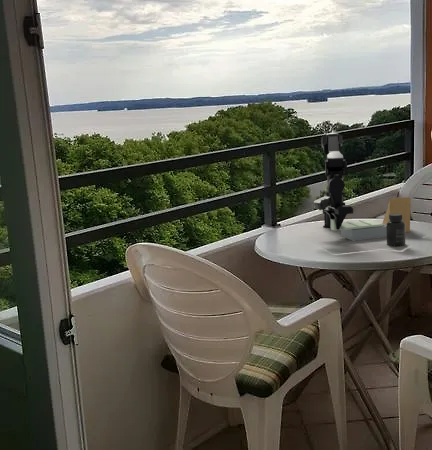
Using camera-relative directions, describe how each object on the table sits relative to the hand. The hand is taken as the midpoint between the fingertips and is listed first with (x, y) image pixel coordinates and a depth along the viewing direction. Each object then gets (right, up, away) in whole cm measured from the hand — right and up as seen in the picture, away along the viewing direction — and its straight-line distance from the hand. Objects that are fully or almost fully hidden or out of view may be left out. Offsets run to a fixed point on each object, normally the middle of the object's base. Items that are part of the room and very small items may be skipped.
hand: (336, 228), depth 253 cm
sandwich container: (+28, -1, +15) cm, 31 cm away
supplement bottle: (+20, -7, -12) cm, 24 cm away
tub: (+12, -4, +4) cm, 13 cm away
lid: (+8, 0, +2) cm, 8 cm away
